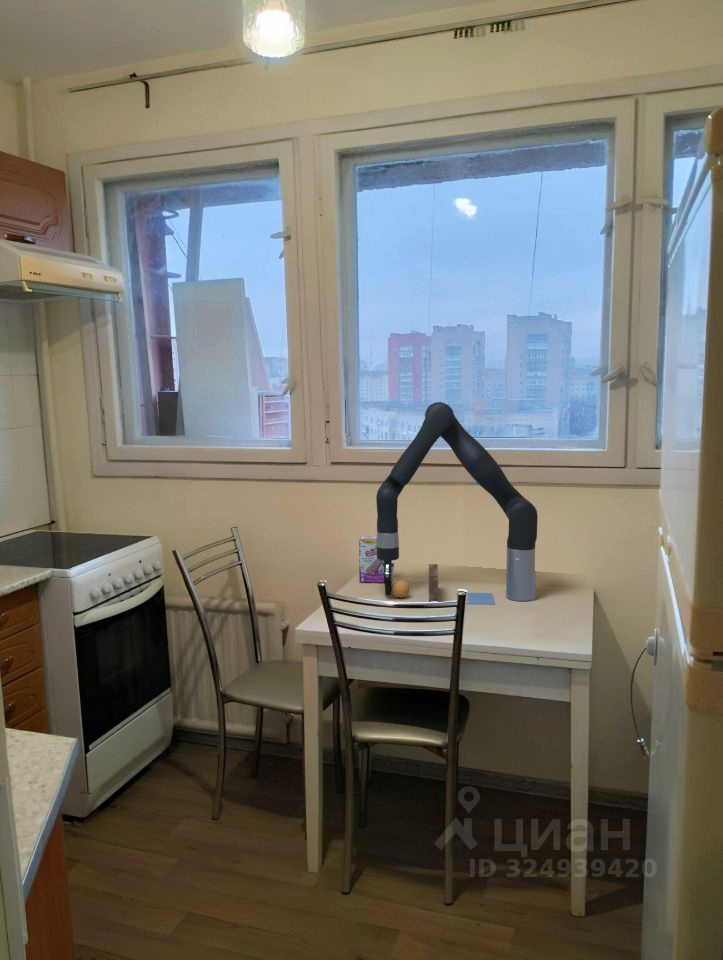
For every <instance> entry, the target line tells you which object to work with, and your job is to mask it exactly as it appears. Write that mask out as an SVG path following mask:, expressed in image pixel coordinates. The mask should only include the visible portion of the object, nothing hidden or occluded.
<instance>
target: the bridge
mask: <svg viewBox="0 0 723 960" xmlns="http://www.w3.org/2000/svg"><path fill="white" fill-rule="evenodd" d="M438 567H439V565H438V564H437V563H435V564H433V563H432V564H431V563H430V564H428V603H429V602H431V601H438V602H439V568H438Z"/></svg>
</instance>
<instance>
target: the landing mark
mask: <svg viewBox="0 0 723 960" xmlns="http://www.w3.org/2000/svg"><path fill="white" fill-rule="evenodd" d="M467 593H468V599H467V604H466V605H496V602H495V599H494V596H493V593H492V592H467ZM468 601H469V602H468Z"/></svg>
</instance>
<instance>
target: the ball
mask: <svg viewBox="0 0 723 960" xmlns="http://www.w3.org/2000/svg"><path fill="white" fill-rule="evenodd" d="M409 593H410V586H409V584H408V582H407V581H405V580H403V579H398V580H395V581H394V582H392V595H394V597H395V598H398V597H400V598H399V599H402V597H404V598H405V597H407V596H408V595H409Z"/></svg>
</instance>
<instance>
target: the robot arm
mask: <svg viewBox="0 0 723 960" xmlns="http://www.w3.org/2000/svg"><path fill="white" fill-rule="evenodd" d="M440 437H441V439H443V440H444V442H446V443H447V445H448V446H449V447H450V448H451V451H452V452H453V453H454V455H455V456H456V458H457V459H458V461H459V463H461V465H462V467H463V468H464V469H465V471H467V473H468V474H469V475H470V476H471V478H473V480H474V481H475V482H476V483H477V484H478V485H479V486H481V488H482V489H484V490H485V491H486V492H487V493H489V495H490V496H491V497H492V498H493V499H494V500H495V501H496V503H497V504H498V505H499V507H500V508H501V510H502V511H503V512H504V514H505V516H506V518H507V519H508V534H507V539H506V572H505V573H506V574H505V575H506V577H505V579H506V581H505V583H506V584H505V587H506V588H505V596H506V598H507V599H508V600H511V601H517V602H529V601H535V600H536V592H537V591H536V589H537V588H536V583H537V572H536V568H535V567H536V541H537V539H538V538H537V537H538V516H539V515H538V510H537V508H536V506H535V505H534V504H533V503H532V502H531V501H530V500H529V499H527V498H525V497H524V496H523V495H522V494H521V493H520V492H519V491H518V489H516V487H514V486H513V485H512V483H511V482H510V481H509V479H508V478H507V476H506V474H505V472H504V471H503V470H502V468H501V467H500V465H499V463H498V462H497V461H496V460H495V458H494V457H493V456H492V454H490V453H489V451H488V450H487V449H486V448H485V447H484V446H483V445H482V444H481V443H480V442H479V441H478V440H476V439H475V438H474V437H473V436H472V435H471V434H470V433H469V432H467V430H466V429H465V428H464V426H462V424H461V422H459V420H458V419H457V417H456V415H455V413H454V411H453V408H452V407H451V406H450V405H449V404H447V403H445V402H441V401H437V402H433V403H431V404H429V405H428V407H427V408H426V409H425V413H424V420H423V421H422V425H421V427H420V428H419V430H418V432H417V433H416V435H415V437H414V439H413V440H412V441H411V443H410V444H409V445H408V446H407V447H406V449H405V450H404V452H403V453H402V454H401V455H400V457H399V458H398V459H397V461H396V462H395V464H394V466H393V467H392V469H391V470H390V473H389V475H388V476H387V477H386V478H385V479H384V480H383V482H382V483H381V485H380V486H379V488H378V489H377V492H376V496H375V498H376V499H375V501H376V512H377V518H376V537H377V538H376V542H377V559H379V560H383V561H384V563H382V571H383V578H384V583H383V584H384V595H385V596H389V597H390V596H392V595H393V593H392V585H393V578H394V569H395V562H394V563H393V561H397V560H398V559H400V539H399V538H400V537H399V520H398V501H399V500H398V499H399V496H400V494H401V493H402V491H403V489H404V488H405V486H407V484H409V483H410V481H412V478H413V477H414V475H415V474H416V473H417V471H418V469H419V467H420V466H421V465H422V463H423V461H424V459H425V458H426V456H427V455H428V453H429V452H430V450H431V448H433V446H434V444H435V443H436V442H437V441H438V439H439V438H440Z"/></svg>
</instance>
